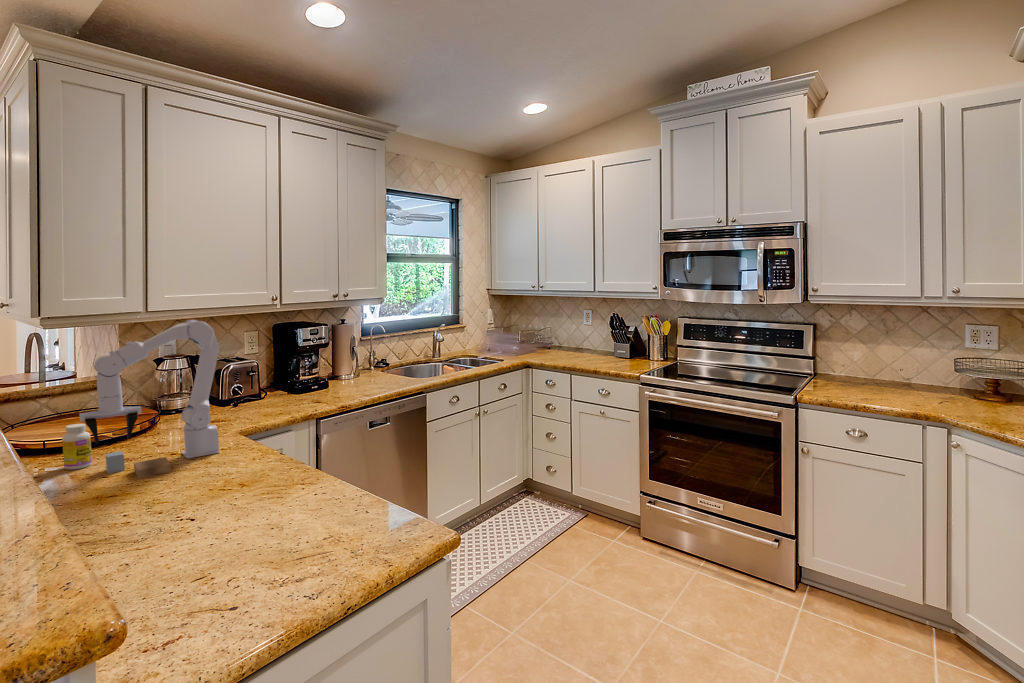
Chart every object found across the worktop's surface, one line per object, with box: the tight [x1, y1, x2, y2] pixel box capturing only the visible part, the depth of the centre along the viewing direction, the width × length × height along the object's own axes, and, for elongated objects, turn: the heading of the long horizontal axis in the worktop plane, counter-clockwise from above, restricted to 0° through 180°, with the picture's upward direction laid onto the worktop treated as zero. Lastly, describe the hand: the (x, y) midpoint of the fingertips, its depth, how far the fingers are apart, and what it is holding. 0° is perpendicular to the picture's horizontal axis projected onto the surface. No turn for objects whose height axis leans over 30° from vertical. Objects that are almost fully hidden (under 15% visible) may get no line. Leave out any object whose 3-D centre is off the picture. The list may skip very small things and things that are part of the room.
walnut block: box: [133, 456, 172, 480], centre depth 156 cm, size 8×8×3 cm
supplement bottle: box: [61, 423, 93, 471], centre depth 159 cm, size 7×7×13 cm
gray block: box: [105, 450, 126, 474], centre depth 157 cm, size 4×4×5 cm
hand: (113, 440), depth 156 cm, fingers open, 7 cm apart
